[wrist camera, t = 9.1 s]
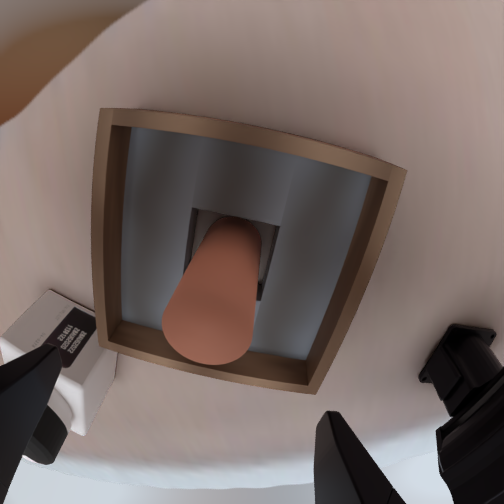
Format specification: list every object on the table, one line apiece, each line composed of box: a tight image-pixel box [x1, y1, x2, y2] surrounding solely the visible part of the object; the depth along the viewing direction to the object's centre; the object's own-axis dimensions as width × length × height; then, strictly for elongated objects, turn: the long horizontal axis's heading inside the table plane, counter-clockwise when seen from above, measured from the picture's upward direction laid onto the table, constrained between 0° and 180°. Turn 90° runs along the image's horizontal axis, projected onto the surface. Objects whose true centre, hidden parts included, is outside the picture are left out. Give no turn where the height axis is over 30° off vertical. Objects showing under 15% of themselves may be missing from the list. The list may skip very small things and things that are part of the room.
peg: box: [162, 217, 261, 365], centre depth 16 cm, size 4×4×9 cm
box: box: [91, 108, 407, 395], centre depth 18 cm, size 15×15×4 cm
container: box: [0, 290, 118, 465], centre depth 19 cm, size 8×8×13 cm
